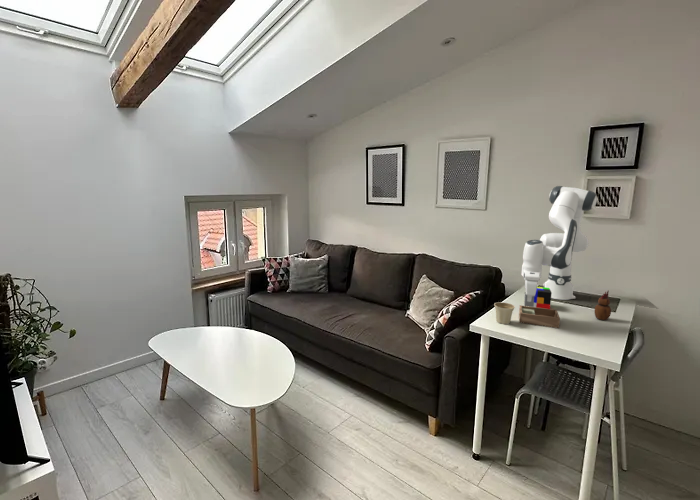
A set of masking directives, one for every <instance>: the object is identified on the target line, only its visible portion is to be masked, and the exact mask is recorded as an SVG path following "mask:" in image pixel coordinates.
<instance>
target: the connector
mask: <svg viewBox="0 0 700 500" xmlns="http://www.w3.org/2000/svg"><path fill="white" fill-rule="evenodd" d="M523 299H524V301H523V302H524V303H523V304H524V305H523V306H531V307H534V296H532V299H531V302H528V301H527V294H526V291H524V298H523Z"/></svg>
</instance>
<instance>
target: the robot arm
mask: <svg viewBox="0 0 700 500" xmlns="http://www.w3.org/2000/svg"><path fill="white" fill-rule="evenodd" d="M597 196H598V195H597V193H596V192H594V191H592V190H586V189H583V188H578V187H572V186H571V187H569V186H562V185H557V186H555V187H553V188H552V189H551V191H550V193H549V195H548V197H549V198H548V199H549V202H550V204H552V206H551V209H550V210H549V213H548V220H549V221H550V223H551V224H552V225H553V226H554V227H555V228H557V229H560V230H561V231H563V232H562V233H561V232H548V233H543V234H542V235H541V237H540V239H531V240H530V239H529V240H528V241H526V242H525V244H524V247H523V252H522V261H523V262H522V265H521V276H522V277H523V280H524V287H525V292H526V294H527V301H528V302H531V299H532V296H535V294H536V289H537V287H538V283H539V282H540V279H541V278H542V271H543V266H546V267H550V268H549V272H548V274H547V275H548V276H547V277H548V278H547V280H546V281H545V282H543V287H545V288H550V290H551V292H552V294H551V299H553V300H554V299H555V300H563V301H565V300H566V301H567V300H573V299H574V300H575V299H576V298H577V297H576V296H575V295H574V294H573V293H574V284H573V283H572V282H571V281H572V266H573V262H572V259H573V253H578V252H584V251H586V250H587V249H588V247H589V246H590V245H589V244H590V242H589V238H588V237H587V236H586V234H584V233H583V232H582V230H581V223H582V219H583V215H584V212H585V211H590V210H592V209H593V208H594V207H595V206H596V205H597V201H598V197H597Z"/></svg>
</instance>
